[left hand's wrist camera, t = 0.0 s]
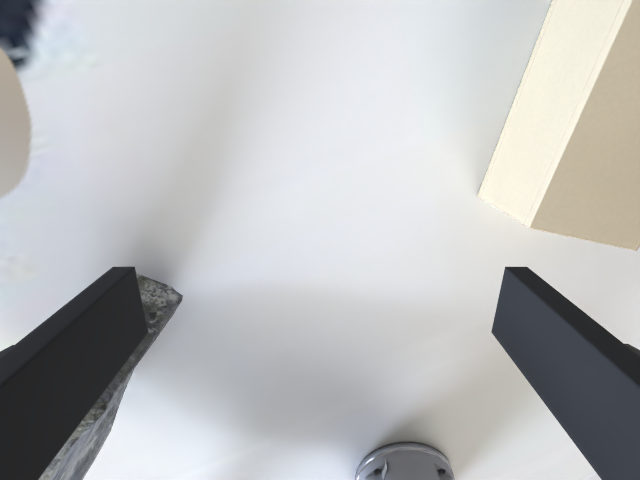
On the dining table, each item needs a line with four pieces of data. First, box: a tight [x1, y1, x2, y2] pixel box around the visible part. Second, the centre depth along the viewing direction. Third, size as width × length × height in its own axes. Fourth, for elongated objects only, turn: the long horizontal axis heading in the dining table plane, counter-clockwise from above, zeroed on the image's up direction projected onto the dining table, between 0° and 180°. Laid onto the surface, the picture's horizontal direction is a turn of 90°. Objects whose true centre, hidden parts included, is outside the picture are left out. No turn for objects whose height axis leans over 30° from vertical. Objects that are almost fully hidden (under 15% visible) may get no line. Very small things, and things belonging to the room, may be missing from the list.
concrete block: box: [38, 274, 183, 480], centre depth 38 cm, size 27×9×20 cm, turn 147°
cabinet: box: [477, 0, 640, 251], centre depth 32 cm, size 20×10×11 cm, turn 168°
